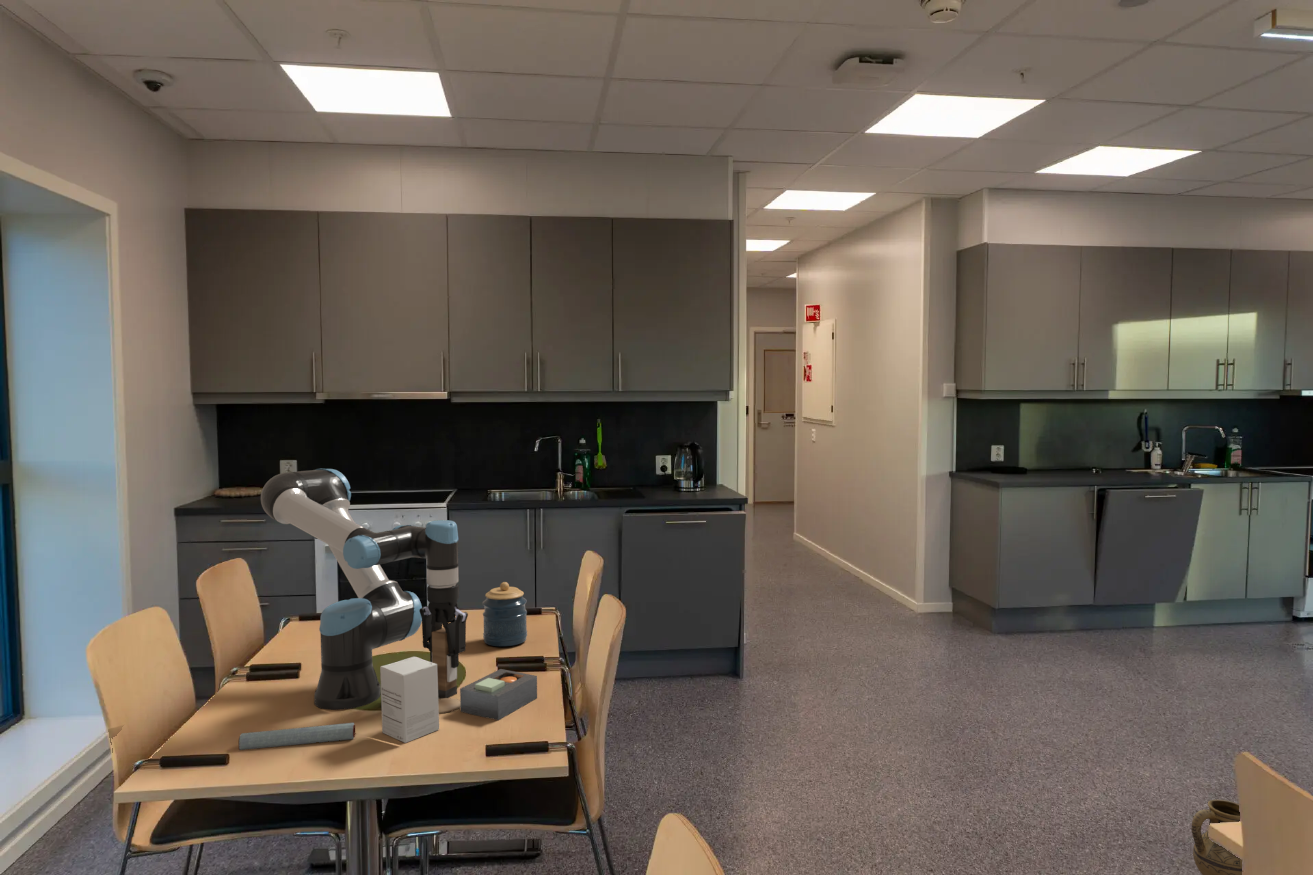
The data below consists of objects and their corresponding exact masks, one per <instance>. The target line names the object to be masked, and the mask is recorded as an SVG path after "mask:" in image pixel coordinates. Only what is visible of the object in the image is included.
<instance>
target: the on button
mask: <svg viewBox="0 0 1313 875" xmlns="http://www.w3.org/2000/svg"><path fill="white" fill-rule="evenodd" d="M504 686H505V681H502V680H497V679H492V678H487V679H485V680H483V681H481V682H479V683H477V684H475V689H477V690H482V691H487V692H491V693H492V692H494V691H496V690H498V689H500V688H502V687H504Z"/></svg>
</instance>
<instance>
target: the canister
mask: <svg viewBox="0 0 1313 875" xmlns="http://www.w3.org/2000/svg"><path fill="white" fill-rule="evenodd" d="M524 594H525V593H524V591H522V590H521V589H519V588H518V587H515V586H510V584H509V583H508V582H507V581H503V582H501V583H500V584H499V587H494V588H491V589H490V590H489V591H488V592H486V593H485V596H484V597H486V598H485V600H483V601H482V606H484V611H483V613H482V616H483V633H482V635H483V641H484V643H485V644H487V645H488V646H494V647H511V646H516V645H519V644H522V643H525V641H526V640H527V636H528V630H527V614H528V611H527V609H526V604H527V602H528V600H527V599H526V598H525V597H524Z"/></svg>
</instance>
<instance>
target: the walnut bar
mask: <svg viewBox="0 0 1313 875" xmlns="http://www.w3.org/2000/svg"><path fill="white" fill-rule="evenodd" d="M447 654H449V648H448V643H447V633H446V631H445V628H444V627H442V629H440V630H437V631H433V632H432V663H435V664H437V676H438V699H442V698H452V697H453V696H454V695H457V694H458V684H457V679H458V678H457V679H455V680H453V681H451V682H447Z"/></svg>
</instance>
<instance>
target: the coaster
mask: <svg viewBox="0 0 1313 875" xmlns="http://www.w3.org/2000/svg"><path fill="white" fill-rule="evenodd" d="M438 707H439V715H441V714H449V713H452V712H455V711H458V710H460V709H461V707H460V699H458V698H453V697H449V698H438Z"/></svg>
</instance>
